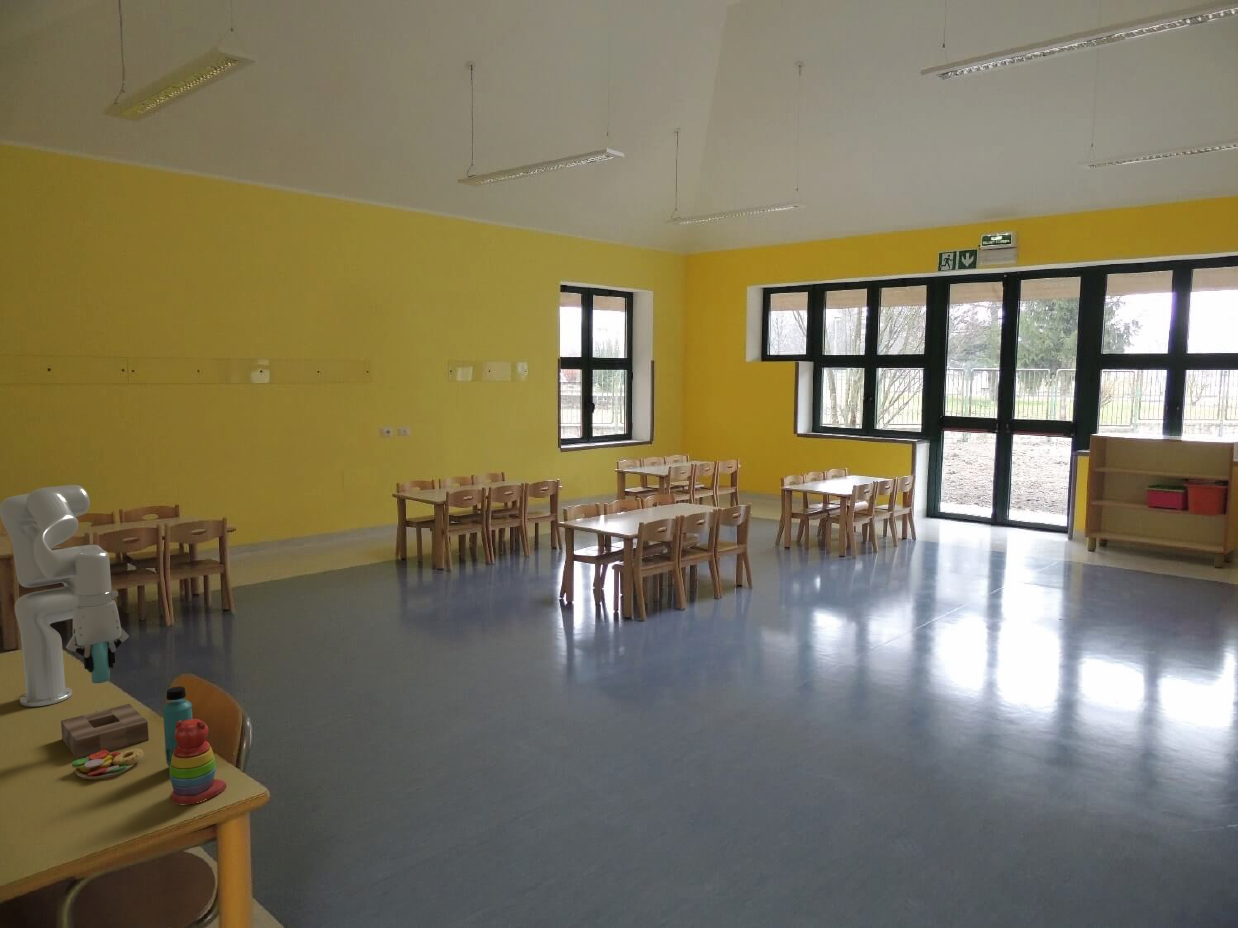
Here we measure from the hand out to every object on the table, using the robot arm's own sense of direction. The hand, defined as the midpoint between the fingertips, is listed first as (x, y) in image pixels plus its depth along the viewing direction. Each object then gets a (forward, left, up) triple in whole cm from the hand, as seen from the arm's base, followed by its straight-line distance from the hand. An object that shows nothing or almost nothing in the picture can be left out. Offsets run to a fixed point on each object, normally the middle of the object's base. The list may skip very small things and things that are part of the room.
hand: (100, 667), depth 223 cm
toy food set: (+18, -4, -20) cm, 27 cm away
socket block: (0, 0, -19) cm, 19 cm away
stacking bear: (+46, +7, -19) cm, 50 cm away
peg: (0, 0, -3) cm, 3 cm away
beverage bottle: (+30, +9, -19) cm, 37 cm away
